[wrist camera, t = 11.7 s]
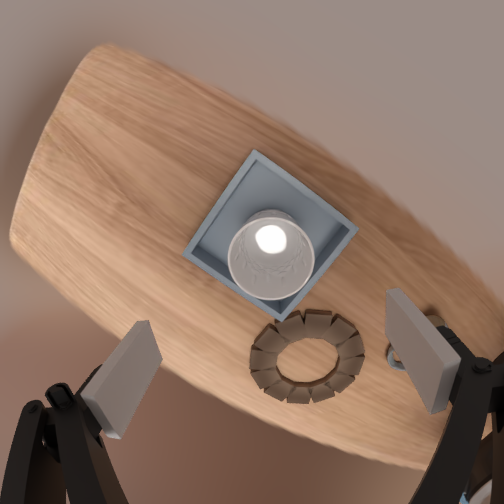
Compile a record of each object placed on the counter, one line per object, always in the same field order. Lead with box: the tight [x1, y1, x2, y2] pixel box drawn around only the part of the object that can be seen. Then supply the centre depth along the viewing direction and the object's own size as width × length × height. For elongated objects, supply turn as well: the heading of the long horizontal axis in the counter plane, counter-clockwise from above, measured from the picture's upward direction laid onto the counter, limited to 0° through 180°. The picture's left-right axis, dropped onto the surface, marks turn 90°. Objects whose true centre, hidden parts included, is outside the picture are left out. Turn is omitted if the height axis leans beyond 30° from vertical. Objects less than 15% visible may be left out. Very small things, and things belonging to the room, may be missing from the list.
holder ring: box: [249, 310, 365, 404], centre depth 41 cm, size 17×17×1 cm
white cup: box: [228, 209, 315, 300], centre depth 31 cm, size 8×8×10 cm
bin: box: [182, 149, 359, 322], centre depth 35 cm, size 15×15×4 cm
